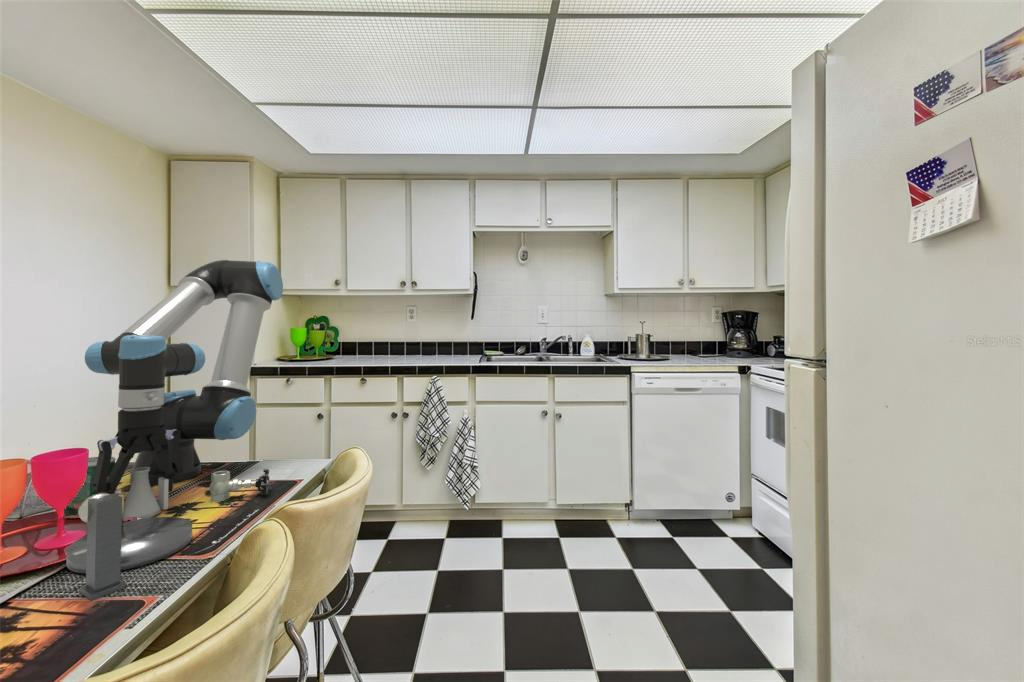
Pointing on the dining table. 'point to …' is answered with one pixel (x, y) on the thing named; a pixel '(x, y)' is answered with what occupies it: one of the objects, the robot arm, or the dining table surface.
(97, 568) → the post
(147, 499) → the flask
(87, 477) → the canned tomato
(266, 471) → the valve
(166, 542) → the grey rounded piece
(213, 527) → the dining table surface
